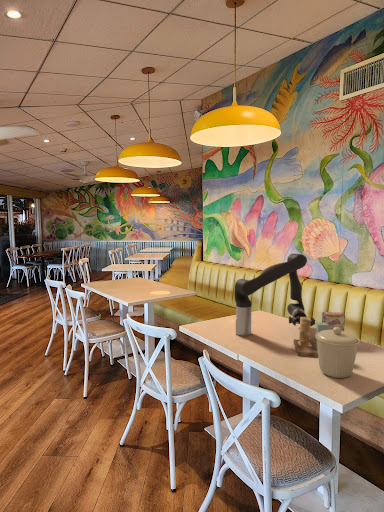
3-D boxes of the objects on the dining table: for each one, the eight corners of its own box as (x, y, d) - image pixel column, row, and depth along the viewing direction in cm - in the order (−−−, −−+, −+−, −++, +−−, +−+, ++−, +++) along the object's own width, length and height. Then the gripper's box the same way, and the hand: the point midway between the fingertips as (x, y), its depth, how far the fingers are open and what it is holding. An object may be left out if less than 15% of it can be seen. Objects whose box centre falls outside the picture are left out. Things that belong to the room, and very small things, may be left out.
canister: (305, 370, 150) (307, 326, 148) (328, 361, 161) (330, 318, 158) (343, 386, 135) (345, 337, 133) (366, 375, 146) (368, 328, 144)
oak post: (300, 344, 176) (301, 319, 174) (299, 341, 180) (300, 316, 179) (309, 345, 175) (310, 319, 174) (308, 342, 180) (308, 317, 178)
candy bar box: (323, 342, 185) (324, 314, 183) (320, 339, 190) (321, 311, 188) (344, 343, 184) (345, 314, 182) (341, 339, 189) (342, 312, 187)
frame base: (297, 355, 167) (298, 325, 165) (293, 342, 185) (294, 314, 183) (331, 357, 164) (332, 326, 163) (323, 344, 182) (324, 316, 180)
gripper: (287, 309, 199) (290, 317, 183) (311, 310, 196) (317, 318, 181) (286, 321, 200) (289, 330, 184) (311, 322, 197) (316, 331, 181)
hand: (303, 324), depth 182 cm, fingers open, 8 cm apart
